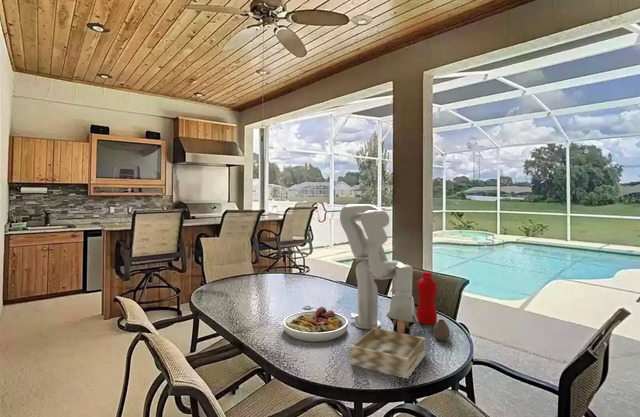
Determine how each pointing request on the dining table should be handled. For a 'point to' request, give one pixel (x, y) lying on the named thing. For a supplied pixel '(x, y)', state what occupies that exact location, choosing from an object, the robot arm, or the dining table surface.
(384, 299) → the dining table surface
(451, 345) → the dining table surface
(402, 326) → the peg
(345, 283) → the dining table surface
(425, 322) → the water bottle
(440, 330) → the vase
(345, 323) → the bowl
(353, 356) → the insert box
